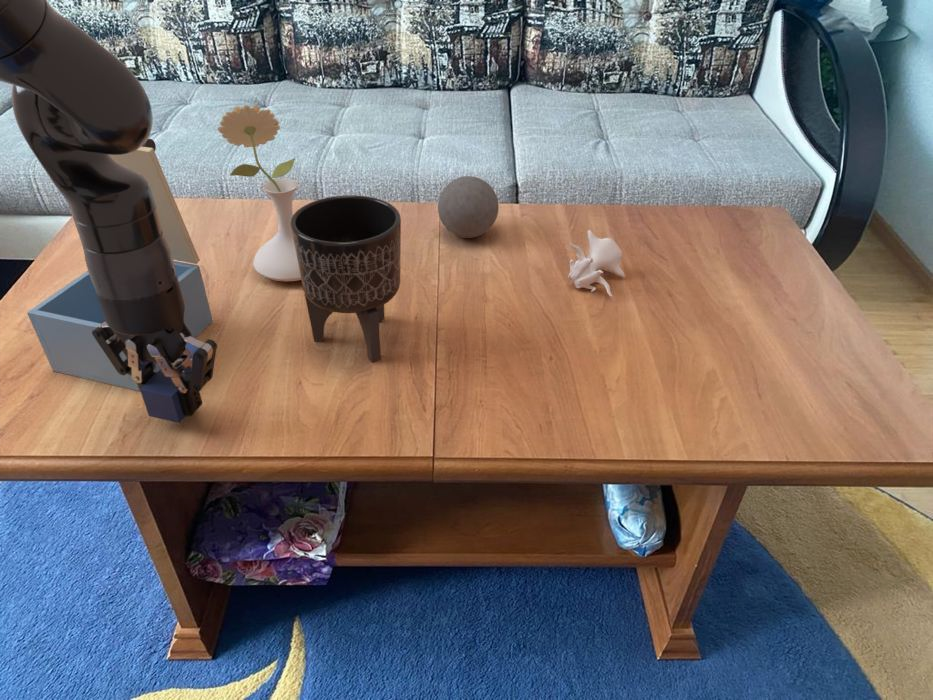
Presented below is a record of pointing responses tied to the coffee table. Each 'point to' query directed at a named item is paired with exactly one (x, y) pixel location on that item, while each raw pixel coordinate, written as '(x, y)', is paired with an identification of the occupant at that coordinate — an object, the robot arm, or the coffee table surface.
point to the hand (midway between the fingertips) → (174, 406)
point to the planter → (348, 261)
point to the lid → (161, 200)
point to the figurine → (595, 263)
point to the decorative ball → (468, 207)
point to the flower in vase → (266, 188)
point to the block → (162, 398)
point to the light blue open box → (79, 312)
